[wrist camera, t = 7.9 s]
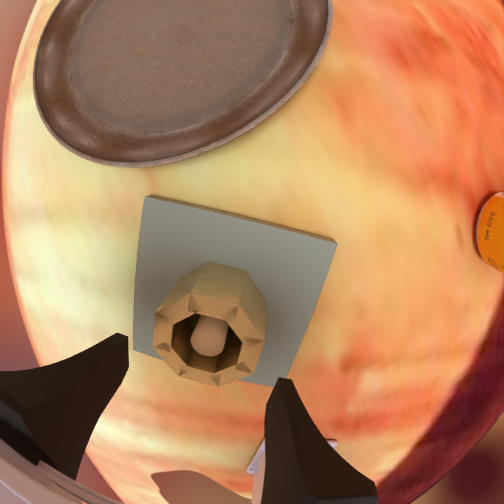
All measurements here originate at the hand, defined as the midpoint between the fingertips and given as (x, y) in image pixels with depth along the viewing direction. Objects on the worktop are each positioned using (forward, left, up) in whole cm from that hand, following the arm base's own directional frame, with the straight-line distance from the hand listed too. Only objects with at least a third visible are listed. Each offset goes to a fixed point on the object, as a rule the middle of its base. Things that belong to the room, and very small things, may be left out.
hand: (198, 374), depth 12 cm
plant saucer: (+18, +8, -8) cm, 21 cm away
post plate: (0, 0, -8) cm, 8 cm away
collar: (0, 0, -7) cm, 6 cm away
